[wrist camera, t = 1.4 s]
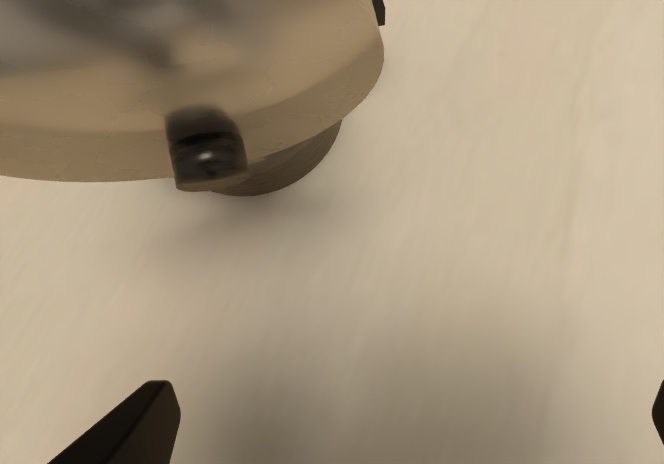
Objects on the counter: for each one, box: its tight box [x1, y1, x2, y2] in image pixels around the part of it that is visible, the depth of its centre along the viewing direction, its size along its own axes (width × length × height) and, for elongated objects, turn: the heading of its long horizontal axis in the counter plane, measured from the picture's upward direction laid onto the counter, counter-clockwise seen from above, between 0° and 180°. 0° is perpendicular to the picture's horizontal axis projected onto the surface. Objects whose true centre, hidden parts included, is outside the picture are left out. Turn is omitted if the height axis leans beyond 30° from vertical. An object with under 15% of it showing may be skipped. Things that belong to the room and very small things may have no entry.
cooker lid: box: [0, 0, 384, 192], centre depth 10 cm, size 14×12×2 cm
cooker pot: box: [210, 0, 385, 196], centre depth 22 cm, size 12×15×7 cm
